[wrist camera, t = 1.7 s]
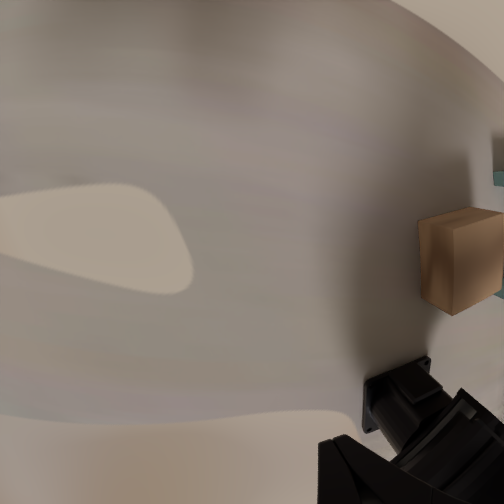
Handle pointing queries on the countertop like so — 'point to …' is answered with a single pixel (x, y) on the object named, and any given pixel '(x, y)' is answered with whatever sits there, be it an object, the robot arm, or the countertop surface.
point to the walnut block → (461, 257)
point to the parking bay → (500, 180)
